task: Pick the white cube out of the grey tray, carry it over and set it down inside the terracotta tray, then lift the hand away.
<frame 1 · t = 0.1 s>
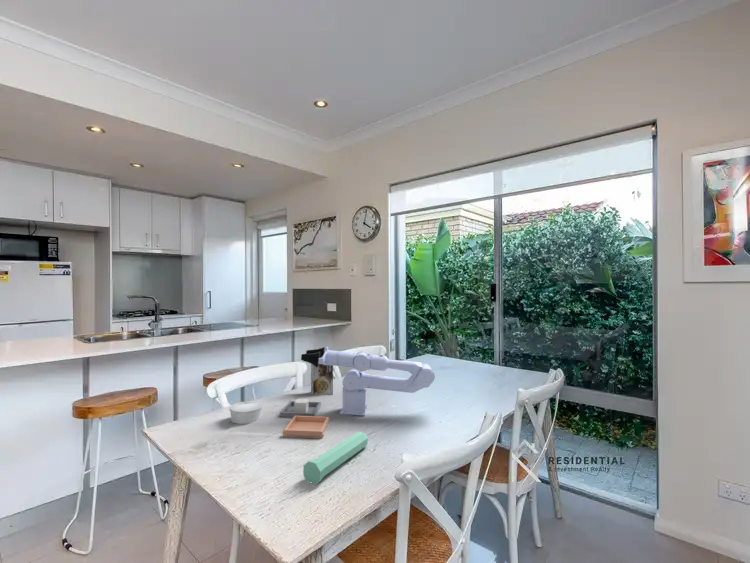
hand: (303, 355, 142), 22 cm above the table, tool horizontal, fingers open, 7 cm apart
grey tray: (301, 412, 139), on the table
coffee box: (321, 393, 163), on the table
white cube: (301, 411, 139), point 1 cm above the table, touching grey tray
ramekin: (246, 421, 131), on the table
terracotta tray: (307, 429, 124), on the table
mint green octagonal prism: (340, 463, 103), on the table
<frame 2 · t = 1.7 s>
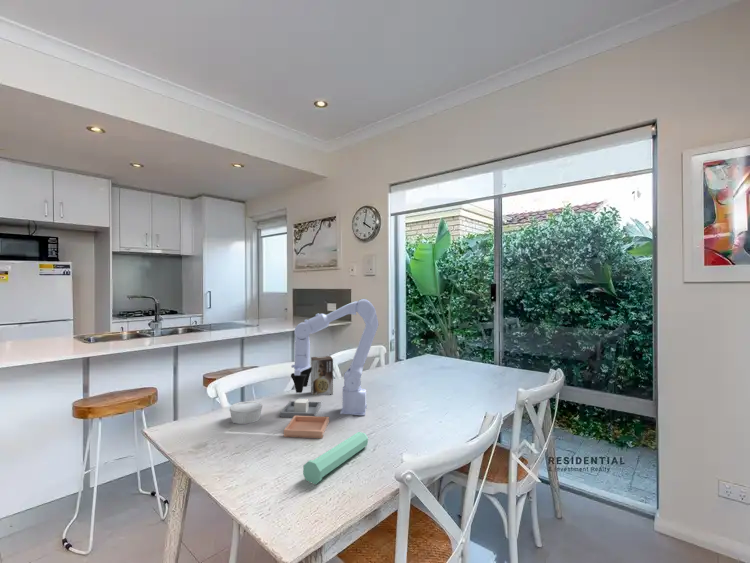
hand: (301, 389, 139), 9 cm above the table, tool pointing down, fingers open, 7 cm apart
nothing on the table moved.
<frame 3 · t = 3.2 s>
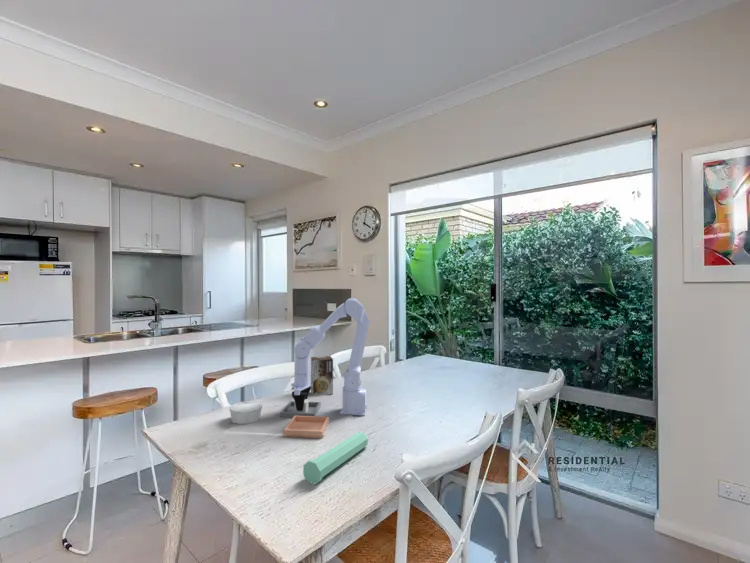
hand: (301, 408, 139), 2 cm above the table, tool pointing down, fingers closed on white cube, 4 cm apart
white cube: (301, 411, 139), point 1 cm above the table, touching grey tray, gripper
everything else where it was.
when the fingers open (3 cm above the table, at t = 7.7 s): white cube drops 1 cm, resting on terracotta tray.
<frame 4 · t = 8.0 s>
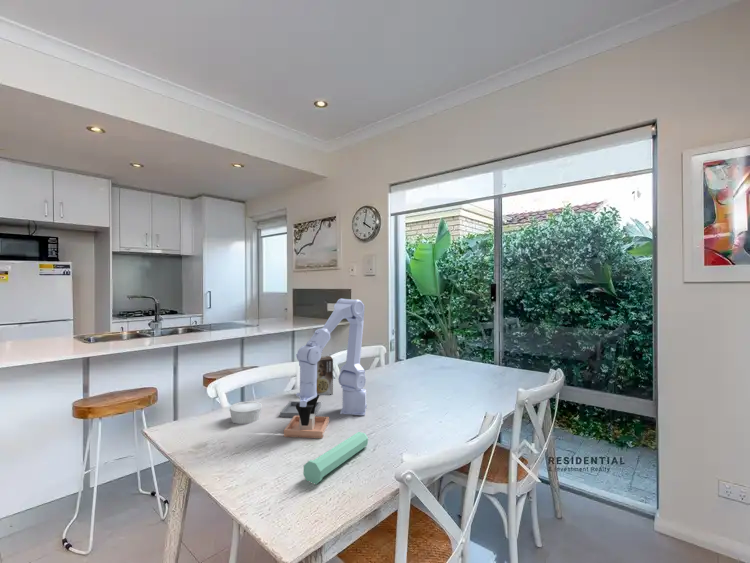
hand: (307, 420, 124), 3 cm above the table, tool pointing down, fingers open, 7 cm apart
white cube: (307, 427, 124), point 1 cm above the table, touching terracotta tray
everything else where it was.
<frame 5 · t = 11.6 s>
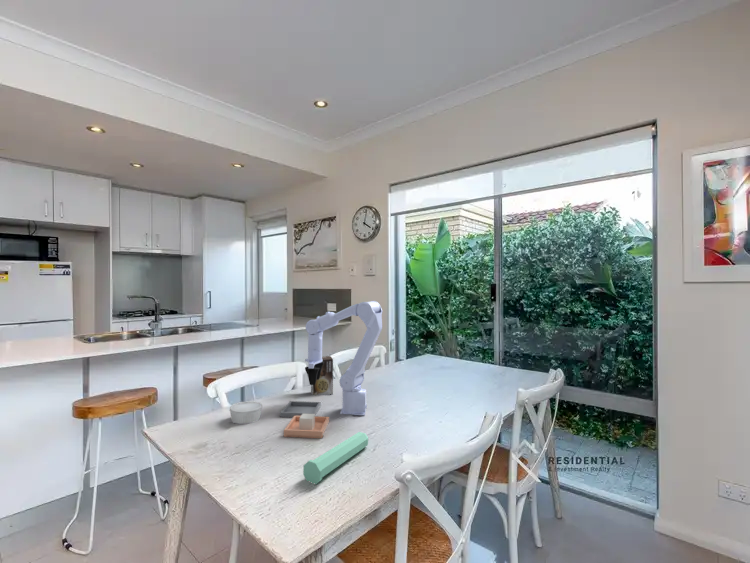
hand: (314, 382, 148), 9 cm above the table, tool pointing down, fingers open, 7 cm apart
nothing on the table moved.
at the end: white cube inside the target area on the terracotta tray (0.1 cm from its centre), point 0.6 cm above the terracotta tray's base; the gripper is holding nothing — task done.
